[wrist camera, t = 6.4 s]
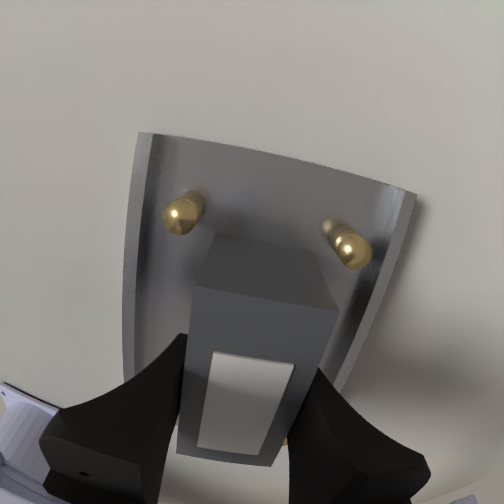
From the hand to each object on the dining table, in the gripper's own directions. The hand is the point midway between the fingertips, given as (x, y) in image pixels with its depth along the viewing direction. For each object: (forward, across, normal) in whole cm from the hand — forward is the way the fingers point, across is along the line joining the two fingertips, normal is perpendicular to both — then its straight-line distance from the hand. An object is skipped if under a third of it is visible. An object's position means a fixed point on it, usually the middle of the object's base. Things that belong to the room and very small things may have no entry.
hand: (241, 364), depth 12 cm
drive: (+2, 0, 0) cm, 2 cm away
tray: (+3, 0, 0) cm, 3 cm away
